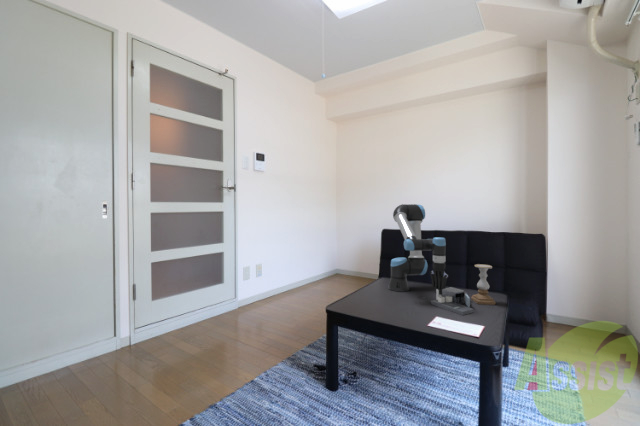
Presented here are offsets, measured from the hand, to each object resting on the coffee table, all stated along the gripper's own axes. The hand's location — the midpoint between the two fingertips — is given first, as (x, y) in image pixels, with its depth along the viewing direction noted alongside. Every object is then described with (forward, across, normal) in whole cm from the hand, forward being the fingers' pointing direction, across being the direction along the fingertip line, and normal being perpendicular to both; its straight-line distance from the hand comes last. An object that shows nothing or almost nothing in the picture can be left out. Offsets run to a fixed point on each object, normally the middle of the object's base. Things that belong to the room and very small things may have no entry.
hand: (438, 299), depth 181 cm
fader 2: (+1, +4, +5) cm, 6 cm away
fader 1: (+1, +2, 0) cm, 2 cm away
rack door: (+3, +10, +15) cm, 18 cm away
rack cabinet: (+4, 0, +13) cm, 14 cm away
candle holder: (+4, +9, +31) cm, 33 cm away
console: (+4, +8, +2) cm, 9 cm away
